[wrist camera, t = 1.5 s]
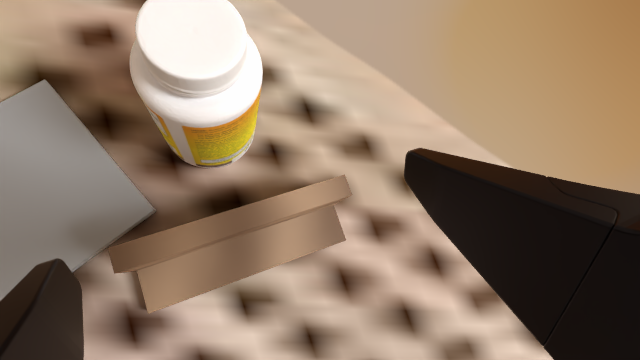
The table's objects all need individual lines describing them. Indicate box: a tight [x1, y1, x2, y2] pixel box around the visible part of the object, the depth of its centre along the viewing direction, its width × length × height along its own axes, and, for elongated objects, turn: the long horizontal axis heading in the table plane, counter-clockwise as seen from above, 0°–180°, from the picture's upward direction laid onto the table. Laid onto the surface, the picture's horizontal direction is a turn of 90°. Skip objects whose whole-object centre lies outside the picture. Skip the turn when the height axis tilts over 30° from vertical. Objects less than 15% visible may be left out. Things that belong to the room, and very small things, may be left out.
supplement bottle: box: [130, 0, 263, 168], centre depth 17 cm, size 6×6×10 cm
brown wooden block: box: [108, 175, 352, 314], centre depth 19 cm, size 12×4×4 cm, turn 110°
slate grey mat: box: [0, 79, 156, 301], centre depth 19 cm, size 10×10×1 cm
